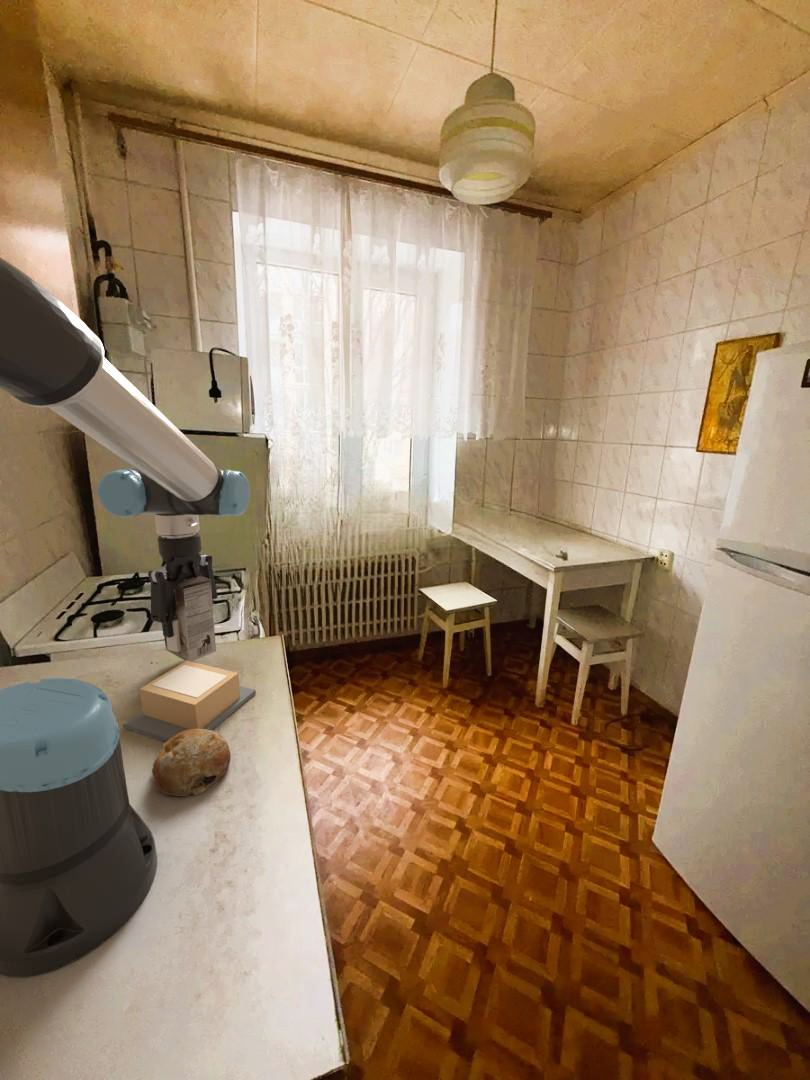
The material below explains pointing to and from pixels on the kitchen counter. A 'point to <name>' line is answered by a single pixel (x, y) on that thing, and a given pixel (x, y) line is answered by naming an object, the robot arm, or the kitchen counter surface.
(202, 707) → the base
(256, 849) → the kitchen counter surface
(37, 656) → the kitchen counter surface
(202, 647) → the coffee box
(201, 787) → the bread roll
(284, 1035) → the kitchen counter surface
